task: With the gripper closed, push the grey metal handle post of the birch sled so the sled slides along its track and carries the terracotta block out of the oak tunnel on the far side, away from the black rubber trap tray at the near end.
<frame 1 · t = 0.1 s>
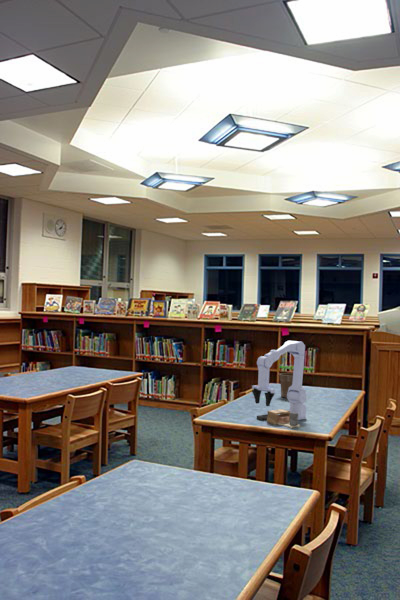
hand: (262, 404, 275), 10 cm above the table, tool pointing down, fingers open, 7 cm apart
sled: (283, 417, 277), point 3 cm above the table, slide at 0.0 cm
tunnel: (278, 422, 280), on the table
trap tray: (265, 419, 287), on the table
plant pot: (289, 397, 365), on the table
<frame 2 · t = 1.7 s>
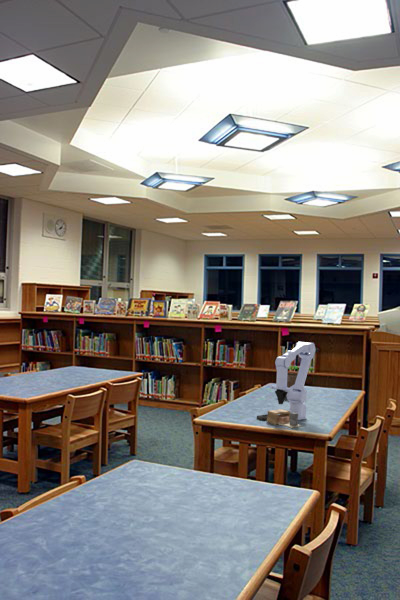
hand: (280, 404, 280), 10 cm above the table, tool pointing down, fingers closed
nothing on the table moved.
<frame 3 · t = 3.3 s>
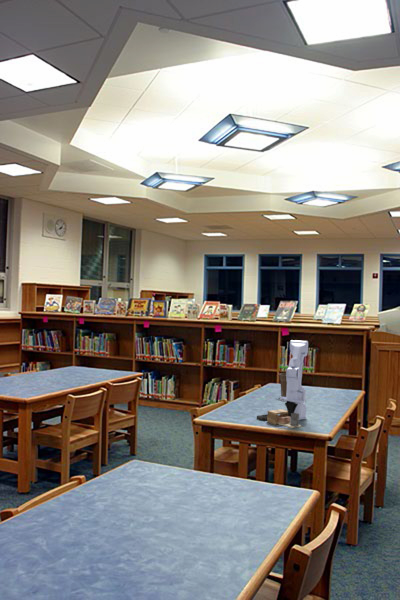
hand: (290, 416, 273), 5 cm above the table, tool pointing down, fingers closed
sled: (284, 417, 277), point 3 cm above the table, slide at 0.6 cm, touching gripper
everything else where it was.
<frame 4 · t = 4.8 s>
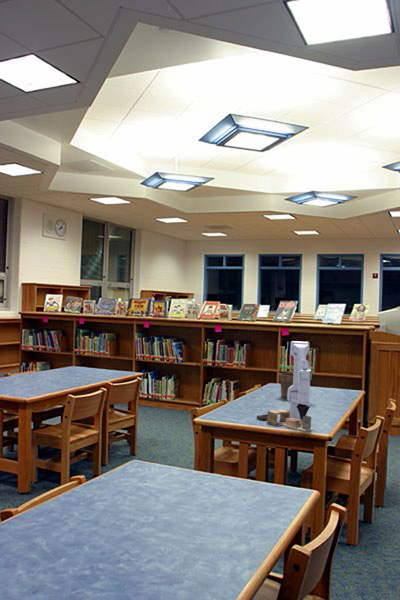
hand: (302, 419, 267), 5 cm above the table, tool pointing down, fingers closed
sled: (295, 420, 271), point 3 cm above the table, slide at 8.5 cm, touching gripper
everything else where it was.
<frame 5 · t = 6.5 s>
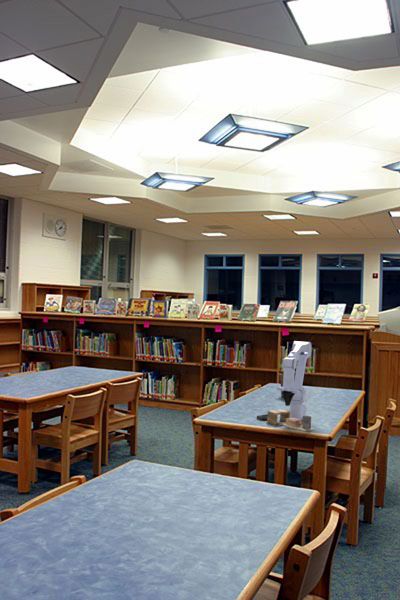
hand: (287, 405, 277), 10 cm above the table, tool pointing down, fingers closed
sled: (295, 420, 271), point 3 cm above the table, slide at 8.5 cm
everything else where it was.
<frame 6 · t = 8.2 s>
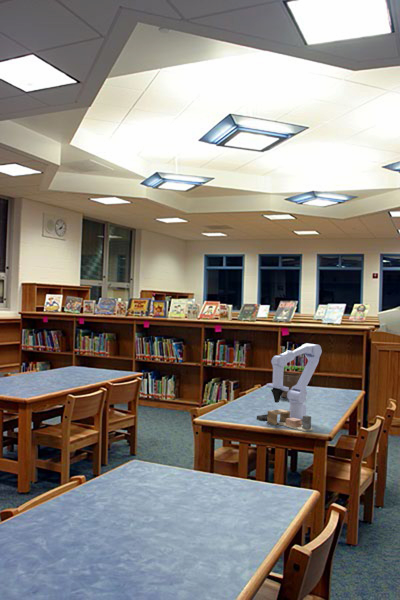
hand: (276, 402, 285), 10 cm above the table, tool pointing down, fingers closed
nothing on the table moved.
at the end: sled slide at 8.5 cm; the gripper is holding nothing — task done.
